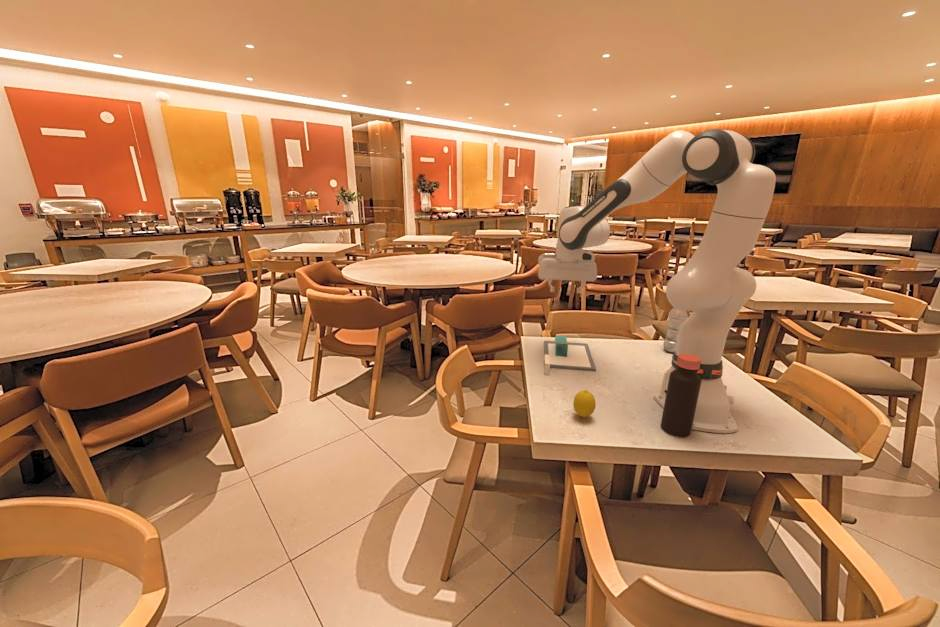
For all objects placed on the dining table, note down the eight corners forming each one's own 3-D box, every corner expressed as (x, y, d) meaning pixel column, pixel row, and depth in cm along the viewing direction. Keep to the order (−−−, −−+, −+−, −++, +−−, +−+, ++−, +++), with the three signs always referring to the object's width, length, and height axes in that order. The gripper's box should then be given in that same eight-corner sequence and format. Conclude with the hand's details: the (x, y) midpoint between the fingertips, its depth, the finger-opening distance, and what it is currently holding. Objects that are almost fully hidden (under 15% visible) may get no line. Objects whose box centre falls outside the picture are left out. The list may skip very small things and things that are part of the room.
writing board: (595, 371, 127) (596, 368, 127) (544, 367, 130) (545, 364, 130) (587, 345, 150) (587, 343, 150) (543, 342, 153) (544, 340, 152)
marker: (566, 356, 137) (567, 346, 135) (555, 355, 137) (556, 345, 136) (564, 344, 149) (565, 334, 148) (554, 343, 150) (555, 333, 148)
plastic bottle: (664, 353, 143) (672, 302, 137) (660, 347, 149) (669, 298, 143) (682, 355, 141) (692, 304, 135) (679, 349, 147) (688, 299, 141)
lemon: (570, 411, 103) (572, 385, 101) (590, 411, 103) (593, 385, 100) (574, 422, 98) (577, 395, 95) (596, 423, 98) (599, 395, 95)
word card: (549, 375, 124) (550, 364, 123) (544, 374, 124) (545, 363, 123) (548, 365, 132) (549, 354, 131) (543, 364, 132) (544, 354, 131)
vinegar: (660, 433, 94) (673, 359, 88) (660, 420, 100) (673, 350, 94) (691, 441, 91) (707, 365, 85) (689, 426, 97) (704, 354, 91)
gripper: (538, 254, 130) (536, 292, 134) (599, 255, 127) (595, 295, 131) (538, 251, 136) (536, 289, 140) (597, 253, 133) (593, 291, 137)
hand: (565, 292), depth 135 cm, fingers open, 8 cm apart
